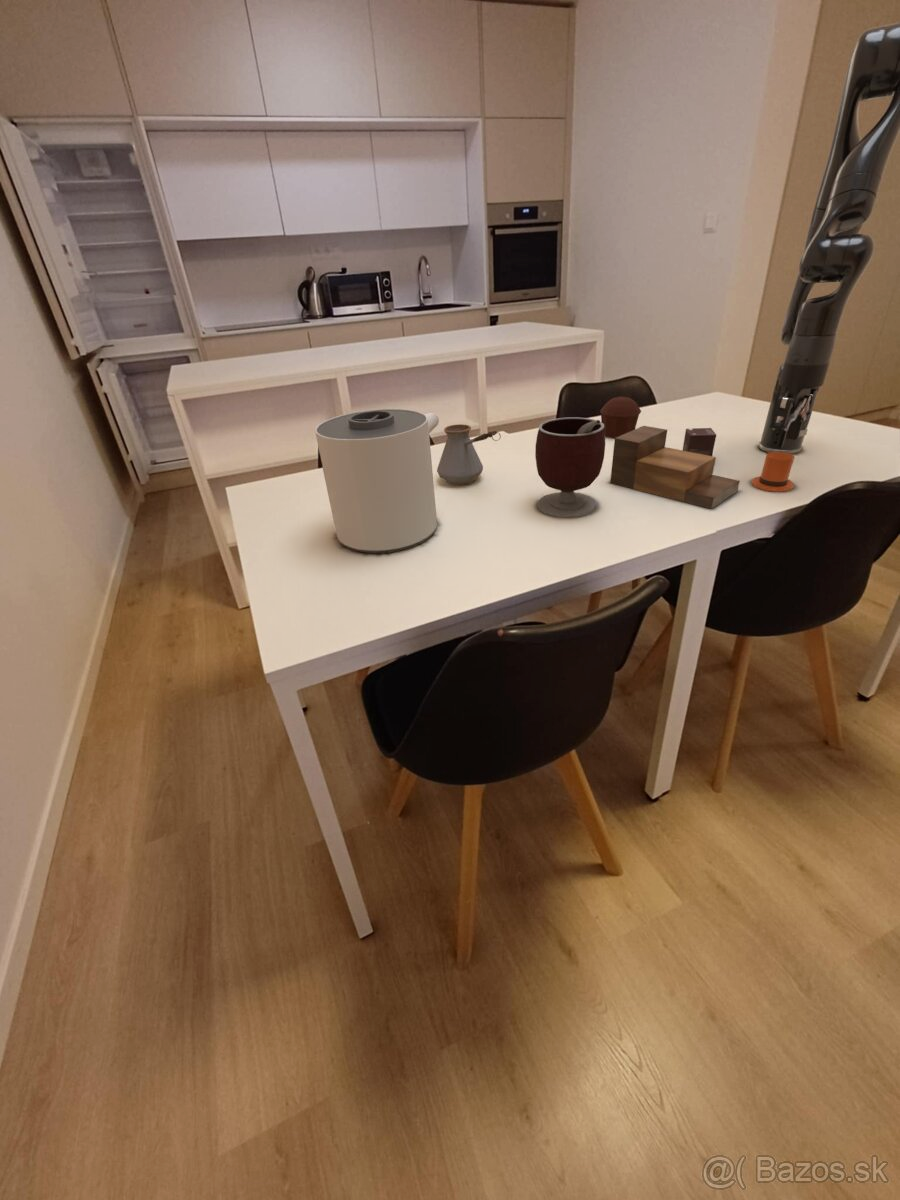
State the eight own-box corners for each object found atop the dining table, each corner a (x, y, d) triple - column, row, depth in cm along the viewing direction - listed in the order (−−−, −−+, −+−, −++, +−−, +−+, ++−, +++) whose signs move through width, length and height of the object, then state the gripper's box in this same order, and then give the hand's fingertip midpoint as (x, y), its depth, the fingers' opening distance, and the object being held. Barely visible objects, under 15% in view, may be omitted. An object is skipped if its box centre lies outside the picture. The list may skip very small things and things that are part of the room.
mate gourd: (522, 501, 118) (523, 409, 107) (575, 488, 122) (580, 398, 111) (561, 527, 106) (566, 426, 95) (618, 512, 110) (629, 413, 99)
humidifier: (362, 507, 121) (344, 402, 109) (449, 511, 116) (441, 401, 103) (319, 550, 104) (292, 432, 92) (419, 558, 99) (404, 433, 86)
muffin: (596, 428, 160) (599, 394, 155) (634, 427, 158) (638, 392, 153) (600, 440, 150) (603, 404, 145) (641, 439, 149) (645, 402, 143)
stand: (638, 468, 130) (643, 425, 124) (737, 491, 114) (749, 443, 108) (610, 482, 123) (614, 438, 118) (711, 509, 108) (722, 458, 102)
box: (710, 465, 128) (717, 434, 124) (684, 465, 130) (689, 435, 126) (706, 456, 133) (711, 427, 129) (680, 456, 135) (685, 427, 131)
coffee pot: (429, 479, 134) (423, 419, 125) (466, 468, 138) (463, 409, 130) (478, 504, 118) (475, 437, 110) (518, 491, 123) (518, 426, 115)
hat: (760, 475, 121) (768, 447, 117) (799, 483, 115) (808, 454, 112) (745, 486, 116) (752, 456, 113) (784, 494, 111) (793, 464, 108)
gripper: (815, 367, 96) (790, 455, 104) (841, 355, 103) (816, 438, 112) (771, 364, 100) (750, 448, 109) (799, 353, 108) (778, 433, 117)
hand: (784, 443), depth 111 cm, fingers open, 8 cm apart
